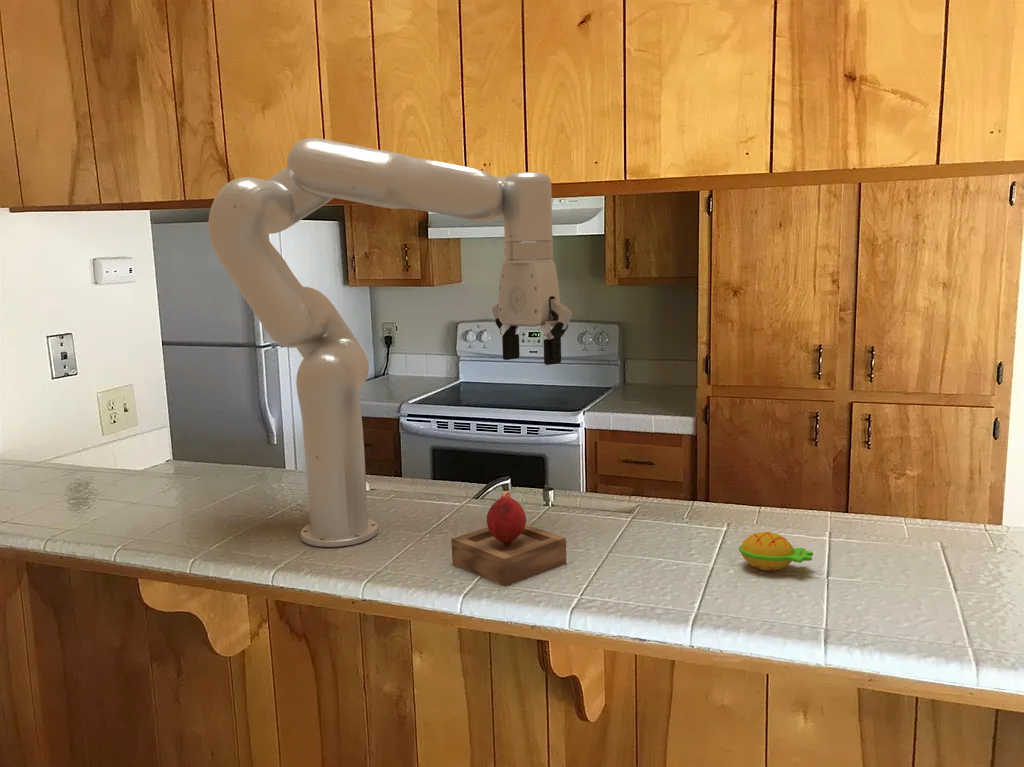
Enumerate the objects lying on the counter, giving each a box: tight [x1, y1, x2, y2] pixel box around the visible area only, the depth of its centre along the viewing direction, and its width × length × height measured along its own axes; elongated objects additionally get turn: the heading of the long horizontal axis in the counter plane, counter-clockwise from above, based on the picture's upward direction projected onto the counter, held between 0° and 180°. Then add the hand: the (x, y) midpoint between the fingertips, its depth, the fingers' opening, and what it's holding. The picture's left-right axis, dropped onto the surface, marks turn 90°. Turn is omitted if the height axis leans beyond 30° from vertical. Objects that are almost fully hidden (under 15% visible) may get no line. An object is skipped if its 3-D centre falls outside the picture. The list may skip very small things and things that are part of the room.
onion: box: [486, 490, 527, 544], centre depth 124 cm, size 6×6×8 cm
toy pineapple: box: [738, 531, 814, 572], centre depth 120 cm, size 7×10×5 cm
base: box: [450, 524, 567, 587], centre depth 125 cm, size 12×12×4 cm
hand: (531, 361), depth 135 cm, fingers open, 9 cm apart
